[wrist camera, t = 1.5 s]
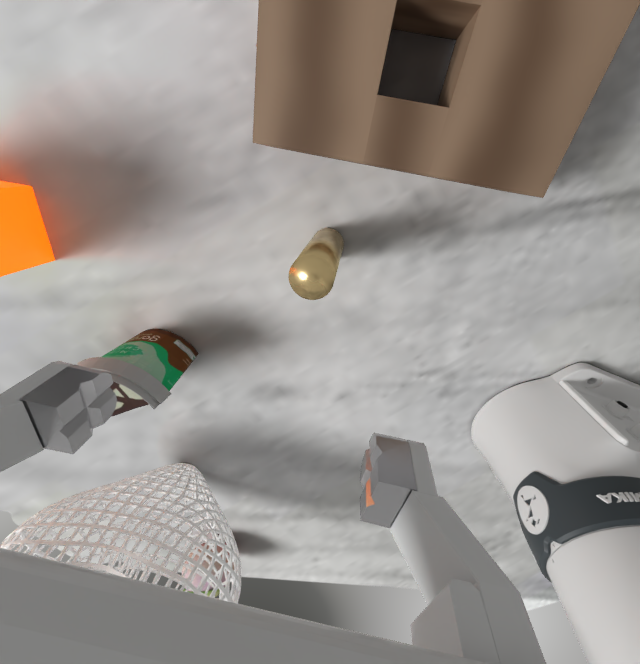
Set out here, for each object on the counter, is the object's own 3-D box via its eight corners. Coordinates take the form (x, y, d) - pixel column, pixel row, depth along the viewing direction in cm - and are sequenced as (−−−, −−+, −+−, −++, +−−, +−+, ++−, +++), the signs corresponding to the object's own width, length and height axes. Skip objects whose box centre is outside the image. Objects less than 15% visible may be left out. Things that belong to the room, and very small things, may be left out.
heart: (274, 449, 43) (202, 675, 24) (271, 509, 51) (215, 717, 32) (94, 415, 45) (-107, 600, 26) (118, 478, 53) (-24, 657, 33)
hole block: (605, -21, 18) (681, -80, 14) (511, 192, 24) (543, 197, 20) (288, -73, 19) (264, -145, 14) (272, 146, 25) (252, 142, 20)
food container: (179, 306, 34) (115, 354, 25) (208, 350, 36) (158, 408, 27) (103, 336, 37) (23, 387, 29) (134, 374, 40) (69, 431, 31)
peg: (346, 231, 27) (337, 260, 19) (340, 262, 29) (329, 303, 20) (314, 225, 27) (291, 251, 19) (310, 256, 29) (286, 294, 20)
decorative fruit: (222, 522, 55) (196, 588, 46) (250, 545, 58) (229, 611, 49) (188, 531, 59) (158, 594, 50) (216, 552, 61) (191, 615, 53)
